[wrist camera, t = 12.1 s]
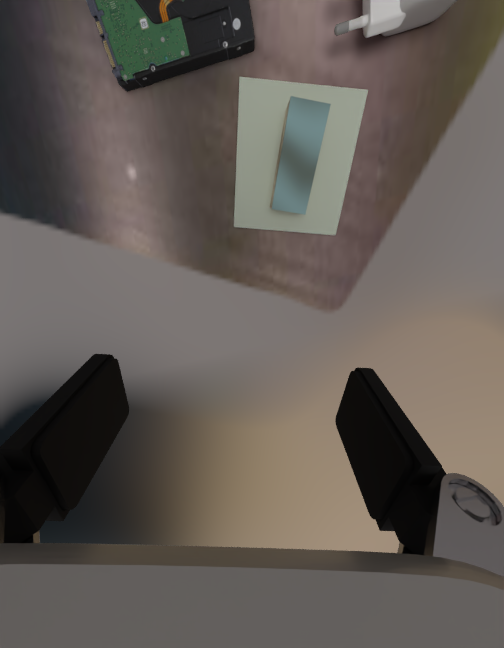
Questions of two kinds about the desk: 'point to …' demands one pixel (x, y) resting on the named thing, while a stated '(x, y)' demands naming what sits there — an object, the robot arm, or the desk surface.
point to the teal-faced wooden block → (298, 154)
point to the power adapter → (394, 16)
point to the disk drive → (170, 36)
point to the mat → (263, 148)
